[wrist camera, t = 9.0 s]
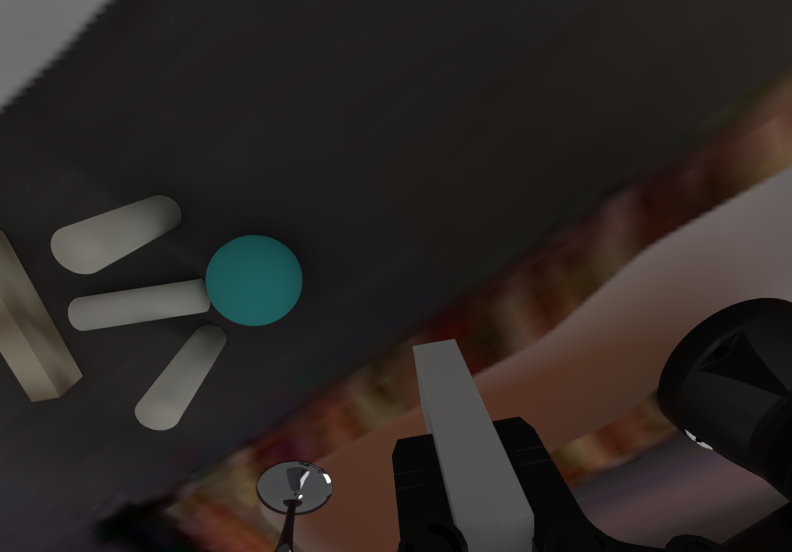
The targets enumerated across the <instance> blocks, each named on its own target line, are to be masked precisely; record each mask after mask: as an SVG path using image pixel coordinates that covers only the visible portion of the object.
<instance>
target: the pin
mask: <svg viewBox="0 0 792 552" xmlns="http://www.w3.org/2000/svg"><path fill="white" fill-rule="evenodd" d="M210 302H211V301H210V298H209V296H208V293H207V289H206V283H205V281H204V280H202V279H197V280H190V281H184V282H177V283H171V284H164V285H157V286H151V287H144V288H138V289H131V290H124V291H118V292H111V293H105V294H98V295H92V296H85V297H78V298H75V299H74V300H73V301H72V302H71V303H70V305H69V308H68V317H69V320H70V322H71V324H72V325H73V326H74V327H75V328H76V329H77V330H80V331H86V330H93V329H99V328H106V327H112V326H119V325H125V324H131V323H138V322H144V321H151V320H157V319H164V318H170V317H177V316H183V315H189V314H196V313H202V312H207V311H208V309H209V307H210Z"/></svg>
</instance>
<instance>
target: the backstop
mask: <svg viewBox="0 0 792 552" xmlns="http://www.w3.org/2000/svg"><path fill="white" fill-rule="evenodd" d="M0 352H1V354H2V355H3V357H4V358H5V360H6V362H7V363H8V365H9V366H10V368H11V369H12V371H13V373H14V374H15V376H16V377H17V379H18V381H19V382H20V384H21V385H22V387H23V389H24V390H25V392H26V393H27V395H28V396H29V398H30V400H31V401H32V402H35V401H41V400H47V399H52V398H58V397H61V396H62V395H63V394H64V393H65V392H66V391H67V390H68V389H69V388H71V387H72V386H73V385H74V384H75V383H76V382H77V381H78V380H79V379H80V378H81V377H83V376H82V374H81V372H80V370H79V368H78V366H77V365H76V363H75V361H74V359H73V357H72V356H71V354H70V352H69V350H68V348H67V346H66V345H65V343H64V341H63V339H62V337H61V336H60V334H59V332H58V330H57V328H56V326H55V325H54V323H53V321H52V319H51V317H50V315H49V314H48V312H47V310H46V308H45V306H44V305H43V303H42V301H41V299H40V297H39V295H38V294H37V292H36V290H35V288H34V286H33V285H32V283H31V281H30V279H29V277H28V275H27V274H26V272H25V270H24V268H23V266H22V264H21V263H20V261H19V259H18V257H17V255H16V254H15V252H14V250H13V248H12V246H11V244H10V243H9V241H8V239H7V237H6V235H5V234H4V232H3V230H0Z"/></svg>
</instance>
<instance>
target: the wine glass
mask: <svg viewBox="0 0 792 552" xmlns="http://www.w3.org/2000/svg"><path fill="white" fill-rule="evenodd" d="M332 488H333V485H332V481H331V479H330V477H329V475H328V474H327V473H326V472H325V471H324V470H323V469H321V468H320V467H318V466H316V465H314V464H311V463H307V462H302V461H289V462H283V463H280V464H277V465H274V466H272V467H271V468H269V469H268V470H266V471H265V472H264V473H263V474H262V475H261V477H260V478H259V481H258V483H257V494H258V497H259V499H260V501H261V502H262V503H263V504H264V505H265V506H266V507H267V508H269V509H270V510H272V511H274V512H277V513H280V514H284V515H286V519H285V523H284V527H283V530H282V533H281V537H280V540H279V543H278V545H277V548H276V550H275V551H274V552H294V549H293V531H294V519H295V515H304V514H308V513H312V512H314V511H316V510H318V509H319V508H321V507H322V506H324V505H325V504H326V502H327V501H328V500H329V498H330V496H331V494H332V490H333V489H332Z"/></svg>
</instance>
